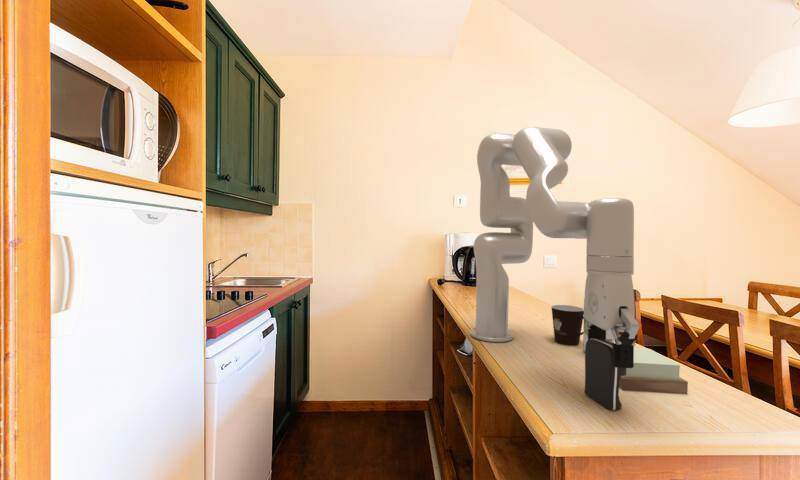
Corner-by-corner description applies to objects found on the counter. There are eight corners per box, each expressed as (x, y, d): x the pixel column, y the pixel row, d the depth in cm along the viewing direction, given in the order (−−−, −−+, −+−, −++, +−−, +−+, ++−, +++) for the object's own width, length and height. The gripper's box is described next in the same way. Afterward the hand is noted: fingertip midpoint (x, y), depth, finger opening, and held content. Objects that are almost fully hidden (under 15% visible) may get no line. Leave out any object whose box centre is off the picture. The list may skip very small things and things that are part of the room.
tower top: (603, 359, 81) (603, 346, 81) (649, 361, 79) (649, 348, 79) (625, 376, 71) (626, 362, 71) (679, 380, 69) (679, 365, 69)
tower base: (596, 369, 82) (596, 357, 82) (650, 372, 81) (650, 359, 81) (623, 393, 70) (623, 378, 70) (687, 396, 69) (687, 381, 69)
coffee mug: (547, 336, 106) (547, 304, 105) (577, 338, 104) (577, 305, 104) (559, 349, 94) (559, 313, 94) (592, 351, 93) (593, 314, 93)
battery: (629, 410, 62) (630, 347, 62) (610, 412, 61) (612, 348, 61) (599, 392, 69) (601, 335, 69) (582, 393, 68) (584, 336, 68)
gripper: (570, 262, 73) (570, 343, 73) (611, 269, 56) (610, 374, 56) (607, 262, 73) (607, 344, 73) (660, 269, 55) (660, 376, 55)
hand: (608, 357), depth 64 cm, fingers open, 9 cm apart
